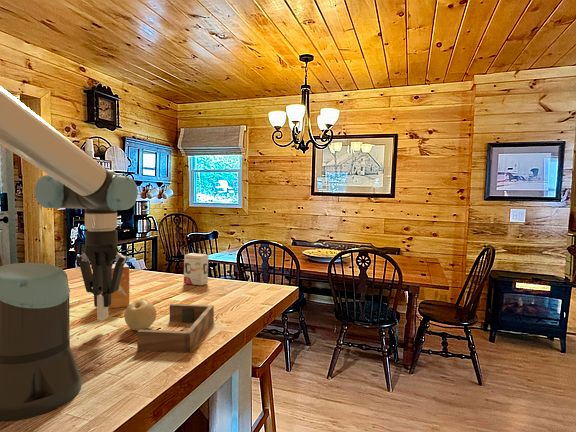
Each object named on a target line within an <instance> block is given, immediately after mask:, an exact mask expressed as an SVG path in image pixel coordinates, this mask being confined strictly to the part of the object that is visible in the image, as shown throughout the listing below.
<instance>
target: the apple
mask: <svg viewBox="0 0 576 432" xmlns="http://www.w3.org/2000/svg"><path fill="white" fill-rule="evenodd" d="M123 318H124V321H125V323H126V325H127V326H128V328H130V329H131V330H133V331H136V332H137V331H138V330H147V329H148V328H150V327H151V326H152V325H153V324H154V323H155V320H156V319H157V309H156V307H155V305H154V304H153V303H152V302H150V301H149V300H145V299H139V300H136V301H134V302H132V303H129V306H126V309H125V311H124V317H123Z"/></svg>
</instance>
